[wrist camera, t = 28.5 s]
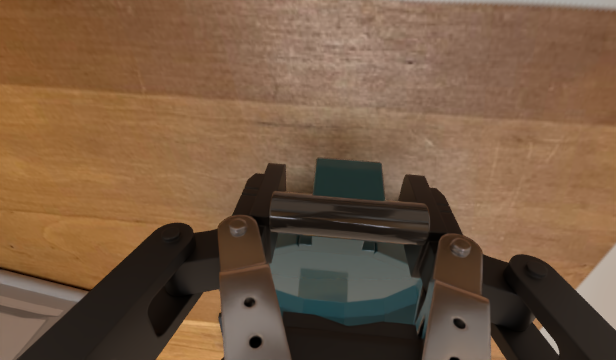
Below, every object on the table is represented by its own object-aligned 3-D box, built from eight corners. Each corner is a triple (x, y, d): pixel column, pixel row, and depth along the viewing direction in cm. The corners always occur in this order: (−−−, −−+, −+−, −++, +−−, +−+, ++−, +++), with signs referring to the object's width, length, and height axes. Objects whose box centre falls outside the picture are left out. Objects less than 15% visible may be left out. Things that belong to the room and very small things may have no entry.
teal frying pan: (174, 125, 12) (126, 204, 10) (535, 152, 12) (588, 244, 9) (241, 304, 26) (229, 355, 24) (406, 320, 26) (412, 375, 23)
